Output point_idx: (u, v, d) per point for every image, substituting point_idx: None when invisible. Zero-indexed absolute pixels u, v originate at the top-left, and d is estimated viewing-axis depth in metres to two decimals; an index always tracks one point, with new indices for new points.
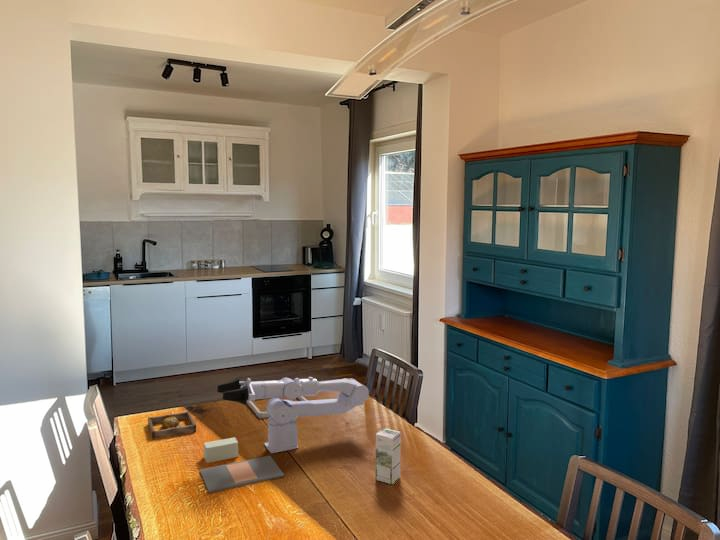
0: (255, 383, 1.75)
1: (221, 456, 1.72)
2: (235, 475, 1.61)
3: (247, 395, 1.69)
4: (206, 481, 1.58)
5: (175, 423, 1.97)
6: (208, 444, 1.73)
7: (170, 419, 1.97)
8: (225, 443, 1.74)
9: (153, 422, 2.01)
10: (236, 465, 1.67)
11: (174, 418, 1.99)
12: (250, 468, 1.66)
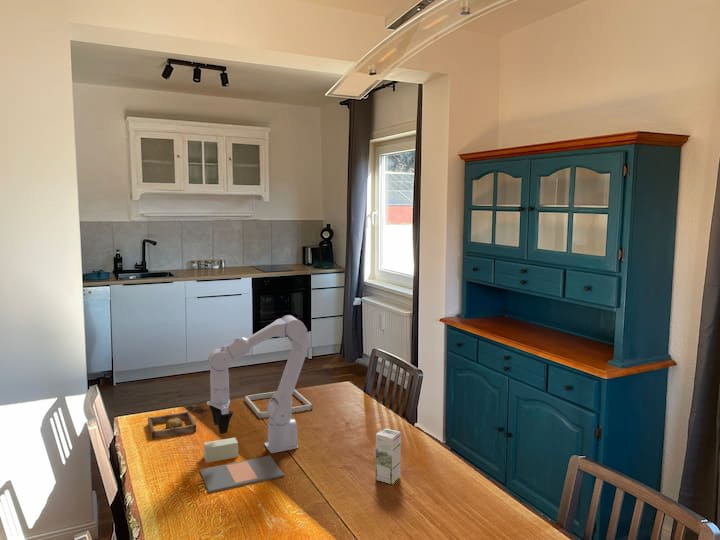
0: (212, 398, 1.70)
1: (221, 456, 1.72)
2: (235, 475, 1.61)
3: None
4: (206, 481, 1.58)
5: (179, 424, 1.96)
6: (208, 444, 1.73)
7: (174, 420, 1.96)
8: (225, 443, 1.74)
9: (153, 422, 2.01)
10: (236, 465, 1.67)
11: (178, 419, 1.98)
12: (250, 468, 1.66)
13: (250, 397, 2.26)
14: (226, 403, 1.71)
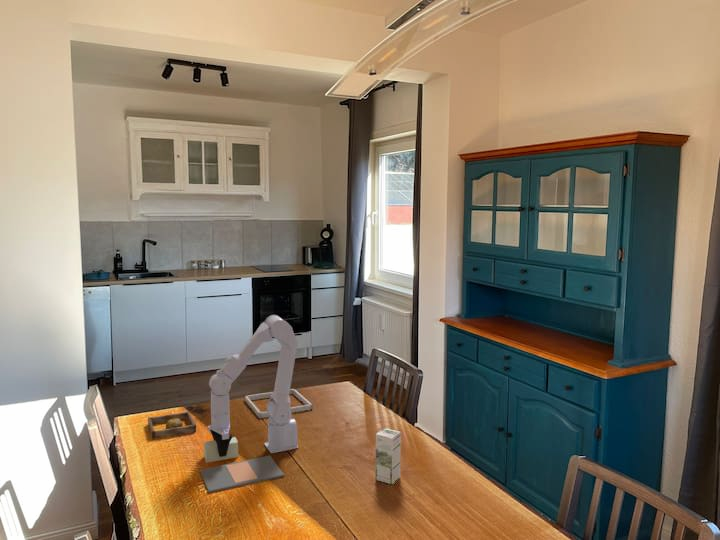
0: (212, 422, 1.71)
1: None
2: (235, 475, 1.61)
3: None
4: (206, 481, 1.58)
5: (179, 425, 1.96)
6: (208, 443, 1.73)
7: (174, 421, 1.96)
8: None
9: (153, 422, 2.01)
10: (236, 465, 1.67)
11: (178, 420, 1.97)
12: (250, 468, 1.66)
13: (250, 397, 2.26)
14: (226, 428, 1.72)
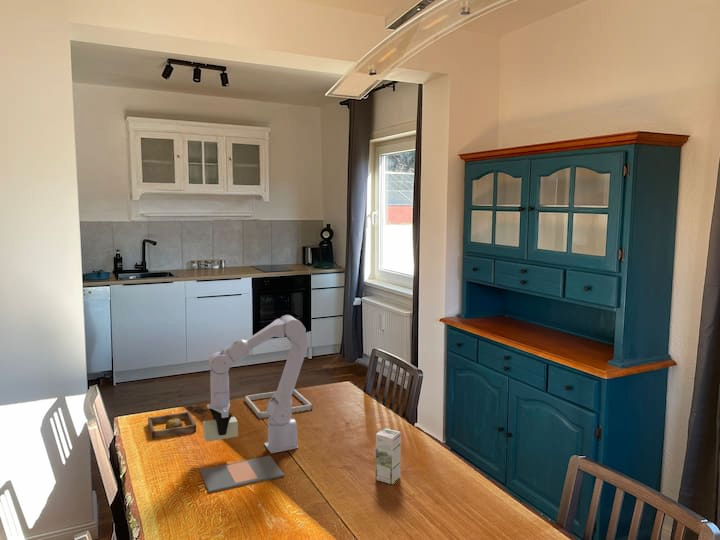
0: (212, 401, 1.70)
1: None
2: (235, 475, 1.61)
3: None
4: (206, 481, 1.58)
5: (179, 424, 1.96)
6: (207, 422, 1.72)
7: (174, 421, 1.96)
8: None
9: (153, 422, 2.01)
10: (236, 465, 1.67)
11: (178, 419, 1.97)
12: (250, 468, 1.66)
13: (250, 397, 2.26)
14: (226, 406, 1.71)
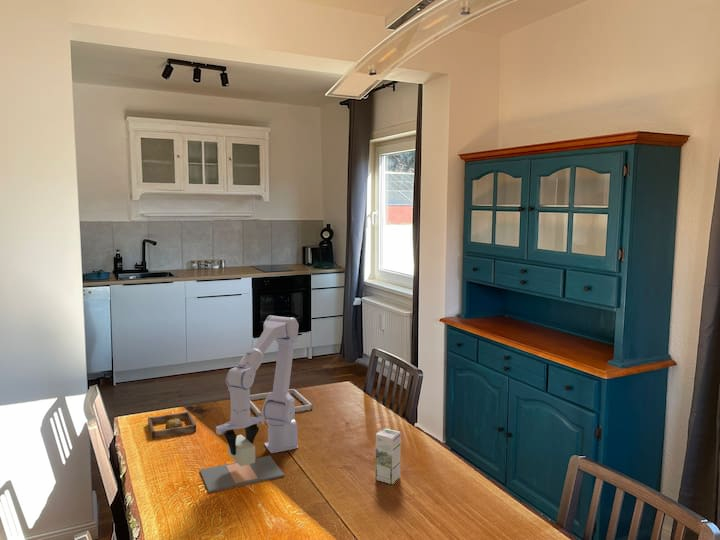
0: None
1: None
2: (235, 475, 1.61)
3: None
4: (206, 481, 1.58)
5: (179, 425, 1.96)
6: (236, 437, 1.66)
7: (174, 421, 1.96)
8: (238, 444, 1.61)
9: (153, 422, 2.01)
10: (236, 465, 1.67)
11: (178, 420, 1.97)
12: (250, 468, 1.66)
13: (250, 397, 2.26)
14: (233, 426, 1.59)
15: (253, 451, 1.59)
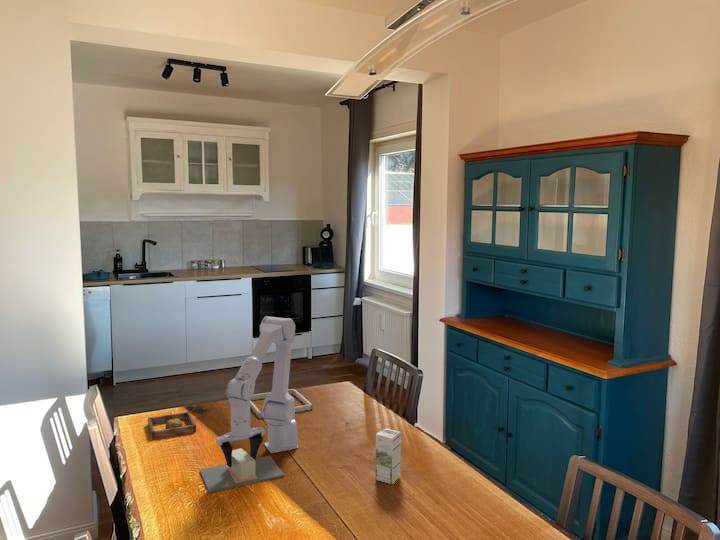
0: None
1: (234, 468, 1.62)
2: (235, 475, 1.61)
3: None
4: (206, 481, 1.58)
5: (179, 425, 1.96)
6: (237, 451, 1.66)
7: (174, 421, 1.96)
8: (238, 458, 1.61)
9: (153, 422, 2.01)
10: None
11: (178, 420, 1.97)
12: None
13: None
14: (234, 437, 1.59)
15: (253, 465, 1.60)
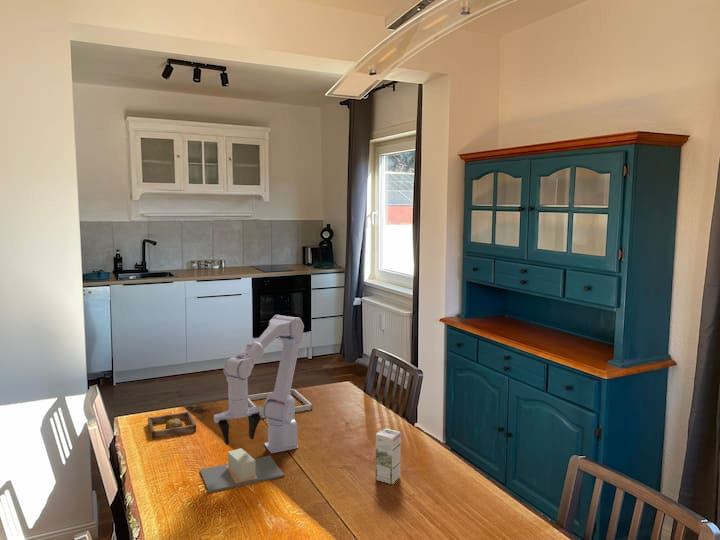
0: None
1: (234, 468, 1.62)
2: (235, 475, 1.61)
3: None
4: (206, 481, 1.58)
5: (179, 425, 1.96)
6: (237, 451, 1.66)
7: (174, 421, 1.96)
8: (238, 458, 1.61)
9: (153, 422, 2.01)
10: None
11: (178, 420, 1.97)
12: None
13: (250, 397, 2.26)
14: (231, 415, 1.61)
15: (253, 465, 1.60)
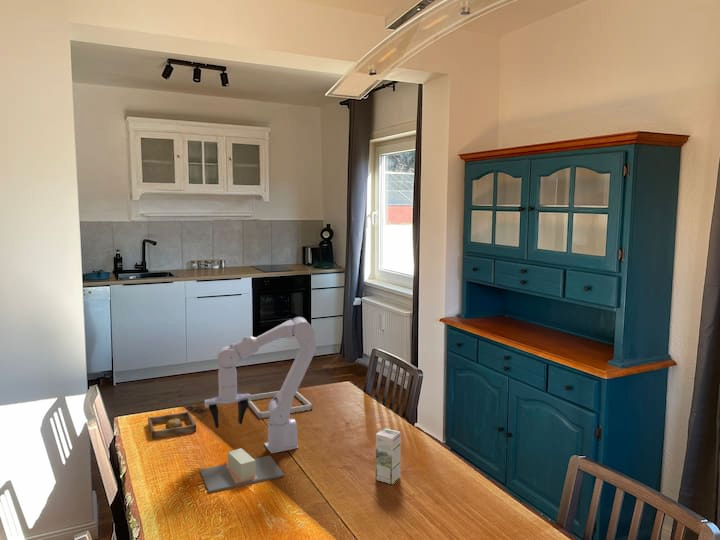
0: None
1: (234, 468, 1.62)
2: (235, 475, 1.61)
3: (208, 406, 1.74)
4: (206, 481, 1.58)
5: (179, 425, 1.96)
6: (237, 451, 1.66)
7: (174, 421, 1.96)
8: (238, 458, 1.61)
9: (153, 422, 2.01)
10: None
11: (178, 420, 1.97)
12: None
13: None
14: (220, 400, 1.73)
15: (253, 465, 1.60)
